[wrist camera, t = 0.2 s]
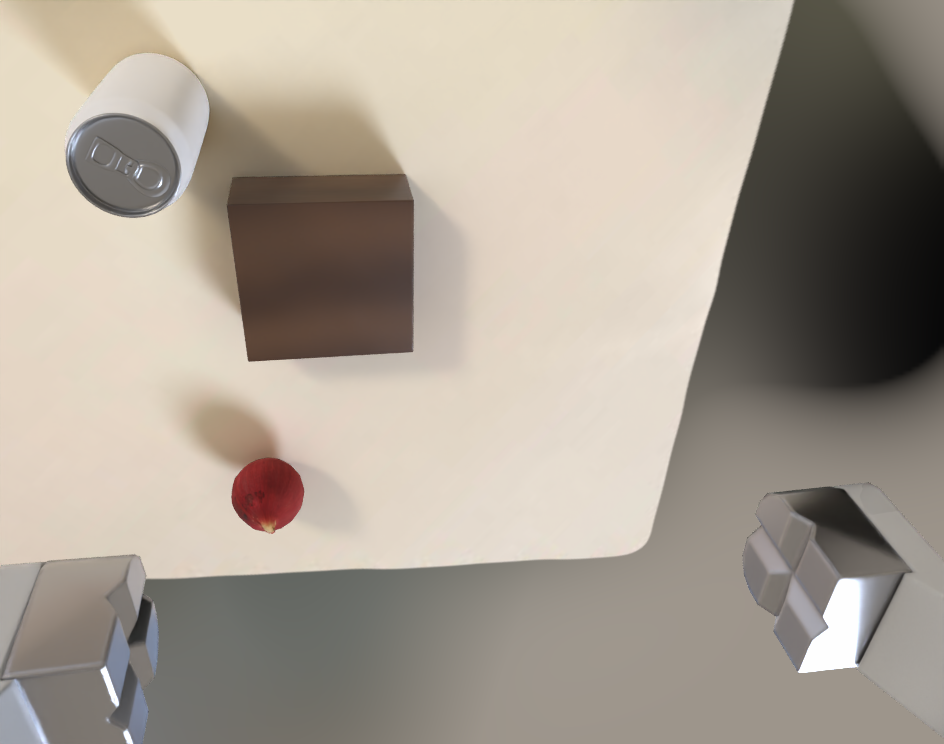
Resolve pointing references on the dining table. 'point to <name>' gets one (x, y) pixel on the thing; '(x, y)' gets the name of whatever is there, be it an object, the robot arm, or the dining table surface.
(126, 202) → the can
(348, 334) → the brown square block
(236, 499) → the onion
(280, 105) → the dining table surface
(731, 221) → the dining table surface
